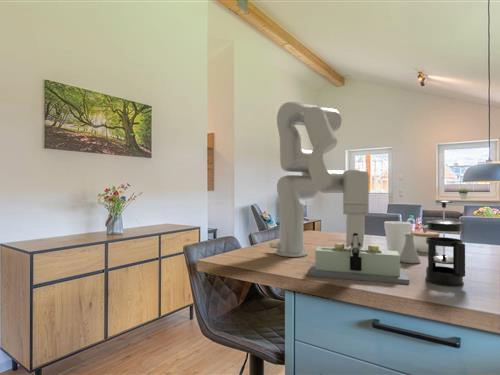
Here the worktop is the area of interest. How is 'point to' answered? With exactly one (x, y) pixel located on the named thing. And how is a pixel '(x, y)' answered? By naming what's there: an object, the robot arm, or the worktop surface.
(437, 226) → the french press
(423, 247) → the lidded jar
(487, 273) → the worktop surface
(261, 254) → the worktop surface
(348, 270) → the pale green slotted holder
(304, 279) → the worktop surface
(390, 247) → the foam cup
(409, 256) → the flask
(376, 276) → the board
